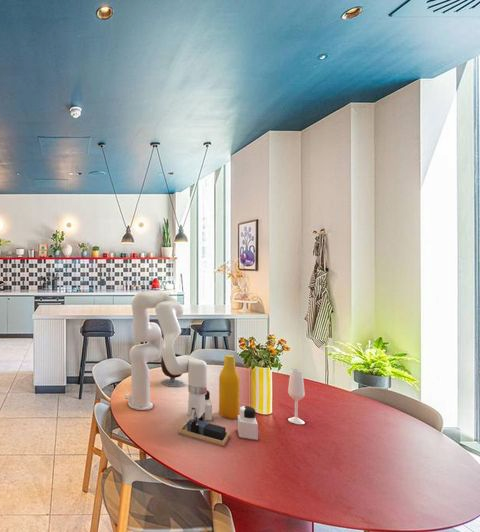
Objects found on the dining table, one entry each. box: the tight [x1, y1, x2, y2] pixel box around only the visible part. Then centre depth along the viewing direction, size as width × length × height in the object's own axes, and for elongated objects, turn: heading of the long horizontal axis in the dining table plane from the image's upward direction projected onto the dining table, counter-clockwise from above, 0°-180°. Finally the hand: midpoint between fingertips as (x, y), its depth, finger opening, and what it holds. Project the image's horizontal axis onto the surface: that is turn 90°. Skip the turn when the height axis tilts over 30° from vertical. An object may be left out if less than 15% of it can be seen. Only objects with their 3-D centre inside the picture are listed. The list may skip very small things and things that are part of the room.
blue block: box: [187, 418, 209, 436], centre depth 149 cm, size 7×6×4 cm
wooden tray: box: [178, 420, 230, 447], centre depth 147 cm, size 18×10×2 cm, turn 54°
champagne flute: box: [287, 368, 306, 425], centre depth 162 cm, size 7×7×24 cm
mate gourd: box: [160, 353, 184, 388], centre depth 212 cm, size 16×14×20 cm
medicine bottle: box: [236, 405, 259, 441], centre depth 147 cm, size 7×7×12 cm
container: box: [195, 389, 213, 421], centre depth 165 cm, size 8×8×13 cm
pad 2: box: [205, 422, 227, 441], centre depth 145 cm, size 7×6×4 cm
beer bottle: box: [218, 354, 241, 420], centre depth 168 cm, size 9×9×29 cm
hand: (197, 430), depth 149 cm, fingers closed on blue block, 5 cm apart
